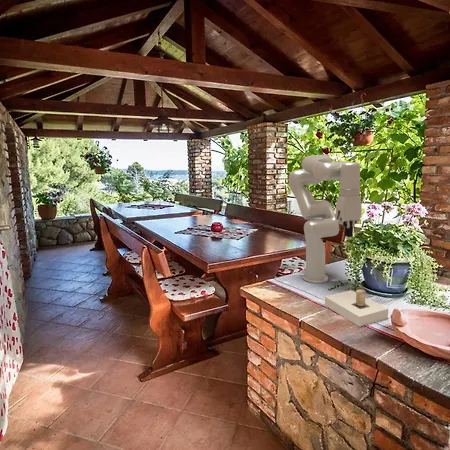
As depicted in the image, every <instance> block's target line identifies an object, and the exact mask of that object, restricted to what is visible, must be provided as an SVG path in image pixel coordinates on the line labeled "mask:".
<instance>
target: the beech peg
mask: <svg viewBox="0 0 450 450" xmlns="http://www.w3.org/2000/svg"><path fill="white" fill-rule="evenodd" d="M355 290H356V291H355V292H356V307H357V308H359V309H363V308H365V297H366V292H367V291H366V290H364V289H361V288H360V289H355Z"/></svg>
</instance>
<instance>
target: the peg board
mask: <svg viewBox="0 0 450 450" xmlns="http://www.w3.org/2000/svg"><path fill="white" fill-rule="evenodd" d="M324 306H326V307H327V308H329V309H330V310H332V311H333V312H335V313H336V314H338V315H340V316H341V317H343V318H345V319H347V321H349V322H351V323H353V324H354V325H356V326H358V327H360V328H361V327H362V326H366V325H369V324H374V323H377V322H380V321H383V320H386V319H388V318H389V307H386V306H384V305H381V304H380V303H377V302H376V301H373V300H371V299H369V298H367V296H365V308H363V309H359V308H357V307H356V291H354V290H351V289H350V290H346V291H341V292H337V293H334V294H329V295H326V296H325V295H324Z"/></svg>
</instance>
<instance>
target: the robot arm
mask: <svg viewBox="0 0 450 450" xmlns="http://www.w3.org/2000/svg"><path fill="white" fill-rule="evenodd" d="M301 167H302V168H299V169H294V170H292V171H291V172H290V173H289V175H288V186H289V188H290V191H291V193H292V194H293V196H294V197H295V199H296V203H297V206H298V208H299V211H300V213H301V216H302V218H303V219H304V220H307V221H306V222H305V223H304V224H303V231H304V232H303V233H304V238H305V268H303V271H304V272H305V274H303V275H302V276H303V280H304V281H305V282H308V283H312V284H313V283H314V284H321V283H322V284H323V283H326V282H327V281H329V276H328V275H327V274H326V245H325V243H324V242H323V240H322V239H323V238H329V237H334V236H337V235H338V234H339V231H340V225H341V226H342V227H343V228H344V237H346V238H353V235H354V228H355V225H356V224H357V223H359V222H360V221H361V217H362V209H363V208H362V198H361V196H360V193H361V188H360V187H361V186H360V185H361V184H360V183H361V182H360V181H361V164H360V163H359V162H357V161H333V162H332V158H331V157H330V156H329V155H327V154H315V155H308V156H306V157H304V158H303V159H302V161H301ZM323 181H326V182H327V181H339V196H337V199H336V204H335V205H336V206H335V211H334V208H333V207H332V204H331V203H330V202H329V201H328V200H325V199H320V200H316V199H315V198H314V195H313V193H312V192H311V191H310V190H309V189H308V188H307V187H306V186H309V185H318V184H321V182H323Z"/></svg>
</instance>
